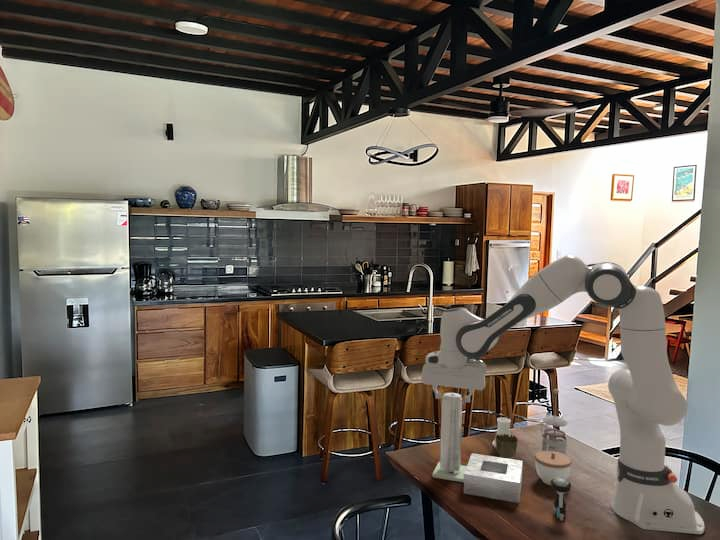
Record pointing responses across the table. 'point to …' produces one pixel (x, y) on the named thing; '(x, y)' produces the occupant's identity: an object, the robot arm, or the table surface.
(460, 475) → the pad
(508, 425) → the vase
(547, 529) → the table surface
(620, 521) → the table surface
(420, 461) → the table surface
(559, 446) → the french press
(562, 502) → the push button
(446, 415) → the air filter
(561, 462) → the lidded jar
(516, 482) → the bore block
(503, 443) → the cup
